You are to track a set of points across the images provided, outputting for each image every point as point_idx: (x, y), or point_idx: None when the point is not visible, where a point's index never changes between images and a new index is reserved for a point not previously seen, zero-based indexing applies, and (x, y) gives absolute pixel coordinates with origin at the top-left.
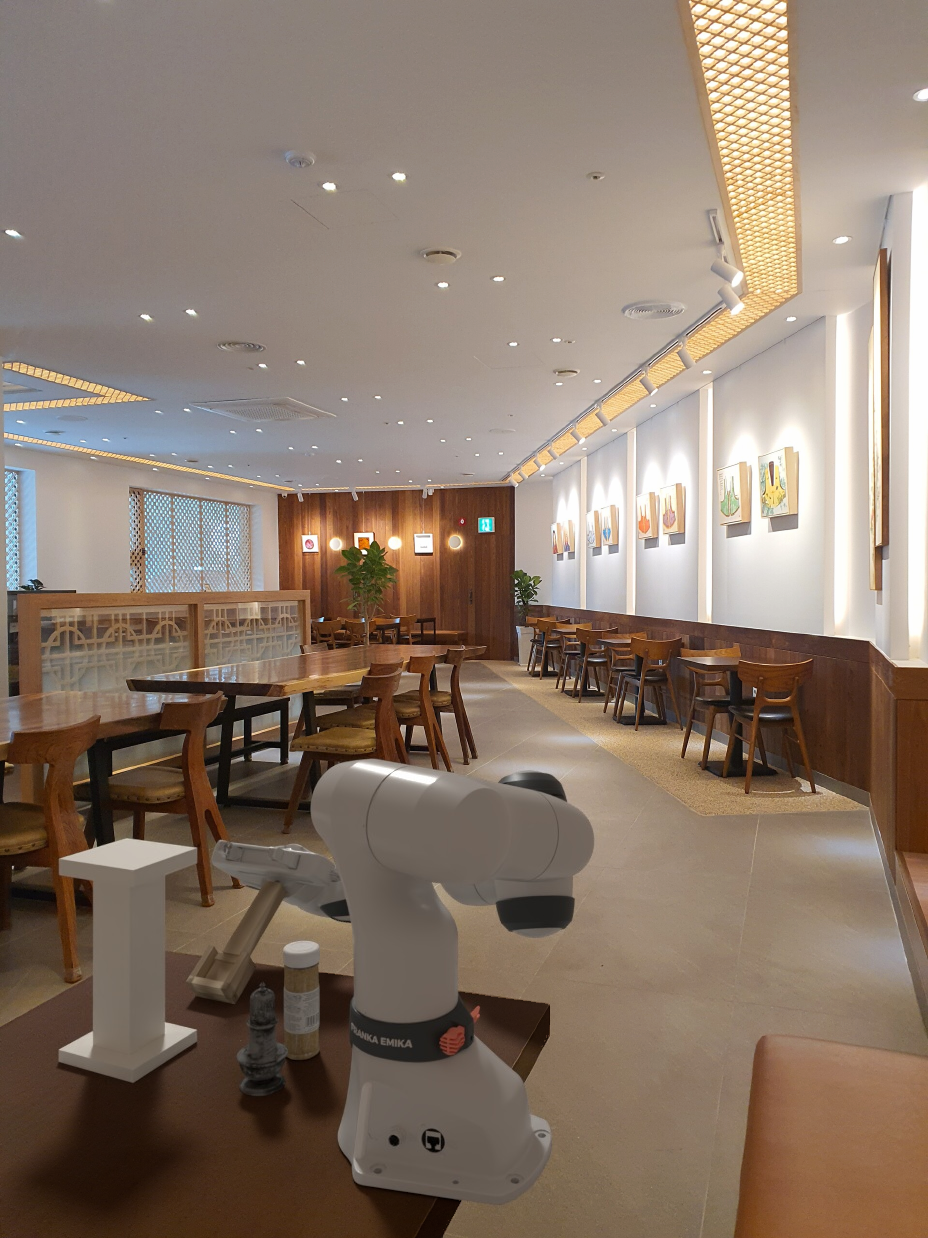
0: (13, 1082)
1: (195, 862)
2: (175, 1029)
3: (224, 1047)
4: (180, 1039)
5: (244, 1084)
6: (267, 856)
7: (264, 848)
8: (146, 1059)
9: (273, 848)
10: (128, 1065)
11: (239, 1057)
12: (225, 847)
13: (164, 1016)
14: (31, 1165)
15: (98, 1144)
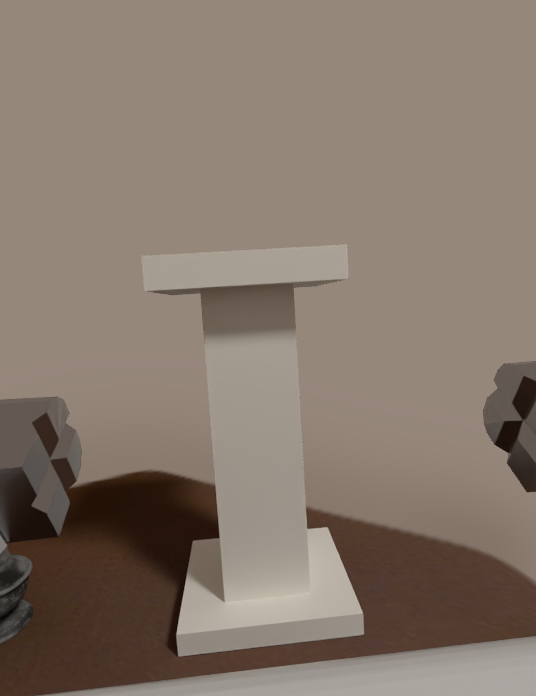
0: (326, 513)
1: (145, 287)
2: (217, 617)
3: (109, 669)
4: (183, 602)
5: (20, 600)
6: (75, 450)
7: (378, 655)
8: (194, 556)
9: (16, 400)
10: (207, 542)
11: (24, 558)
12: (501, 406)
13: (222, 571)
14: (188, 485)
15: (152, 508)
